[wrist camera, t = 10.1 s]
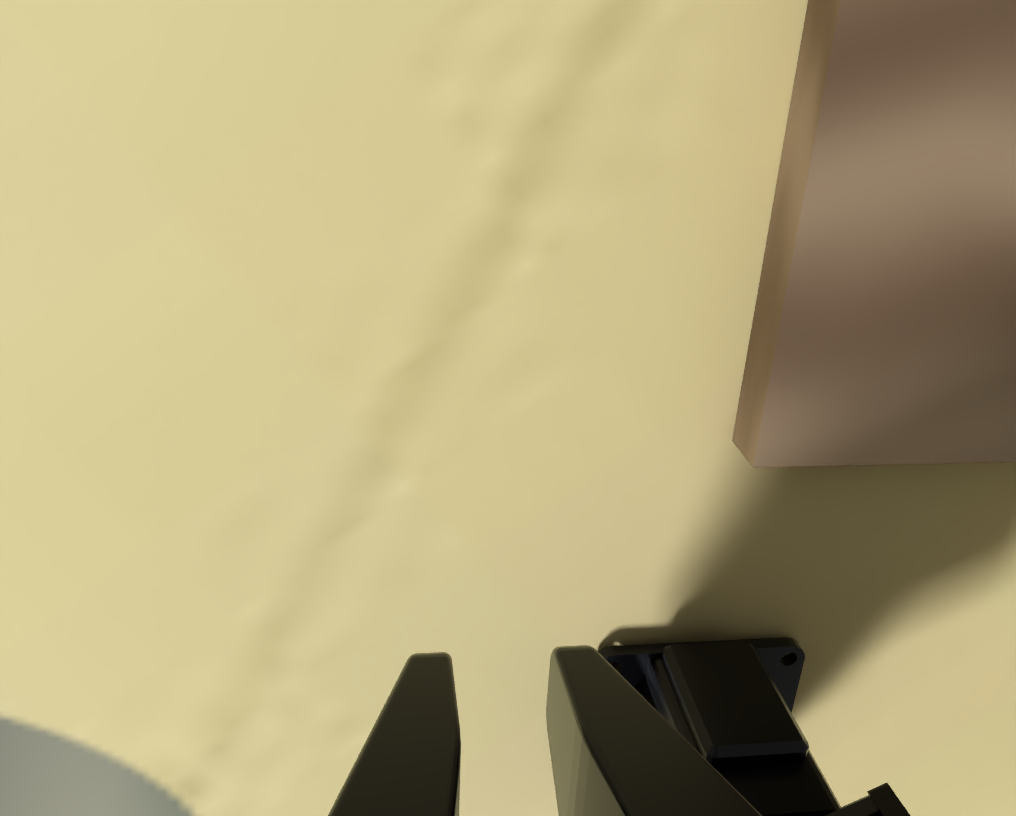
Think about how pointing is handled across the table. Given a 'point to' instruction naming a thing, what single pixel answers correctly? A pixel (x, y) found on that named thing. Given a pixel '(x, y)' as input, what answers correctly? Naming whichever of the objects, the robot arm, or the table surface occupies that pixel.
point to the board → (891, 244)
